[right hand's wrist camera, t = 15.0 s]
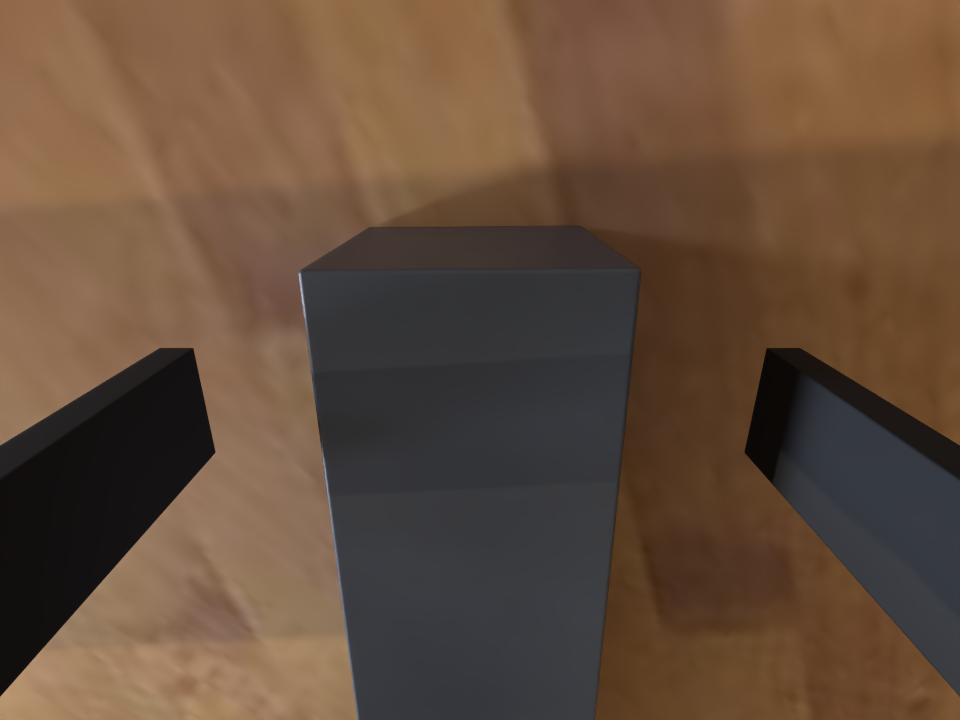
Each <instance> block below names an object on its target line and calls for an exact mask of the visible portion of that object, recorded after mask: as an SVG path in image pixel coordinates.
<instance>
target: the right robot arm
mask: <svg viewBox="0 0 960 720" xmlns="http://www.w3.org/2000/svg"><path fill="white" fill-rule="evenodd" d="M214 454H215V448H214V443H213V439H212V434H211V429H210V425H209V420H208V415H207V411H206V406H205V401H204V396H203V392H202V387H201V382H200V378H199V373H198V368H197V364H196V359H195V354H194V349H193V348H159V349H158V350H156V351H154V352H153V353H151V354H149V355H148V356H146V357H145V358H143V359H141V360H140V361H138V362H136V363H135V364H133V365H131V366H130V367H128V368H127V369H125V370H123V371H122V372H120V373H118V374H117V375H115V376H113V377H112V378H110V379H109V380H107V381H105V382H104V383H102V384H100V385H99V386H97V387H95V388H94V389H92V390H91V391H89V392H87V393H86V394H84V395H82V396H81V397H79V398H77V399H76V400H74V401H73V402H71V403H69V404H68V405H66V406H64V407H63V408H61V409H59V410H58V411H56V412H55V413H53V414H51V415H50V416H48V417H46V418H45V419H43V420H41V421H40V422H38V423H37V424H35V425H33V426H32V427H30V428H28V429H27V430H25V431H23V432H22V433H20V434H19V435H17V436H15V437H14V438H12V439H10V440H9V441H7V442H5V443H4V444H2V445H1V446H0V696H1V695H2V694H3V693H4V692H5V691H6V689H7V688H8V687H9V686H10V685H11V684H12V683H13V681H14V680H15V679H16V678H17V677H18V676H19V675H20V674H21V672H22V671H23V670H24V669H25V668H26V667H27V666H28V664H29V663H30V662H31V661H32V660H33V659H34V658H35V657H36V655H37V654H38V653H39V652H40V651H41V650H42V649H43V647H44V646H45V645H46V644H47V643H48V642H49V641H50V640H51V638H52V637H53V636H54V635H55V634H56V633H57V632H58V630H59V629H60V628H61V627H62V626H63V625H64V624H65V623H66V621H67V620H68V619H69V618H70V617H71V616H72V615H73V613H74V612H75V611H76V610H77V609H78V608H79V607H80V606H81V604H82V603H83V602H84V601H85V600H86V599H87V598H88V596H89V595H90V594H91V593H92V592H93V591H94V590H95V589H96V587H97V586H98V585H99V584H100V583H101V582H102V581H103V579H104V578H105V577H106V576H107V575H108V574H109V573H110V571H111V570H112V569H113V568H114V567H115V566H116V565H117V564H118V562H119V561H120V560H121V559H122V558H123V557H124V556H125V554H126V553H127V552H128V551H129V550H130V549H131V548H132V547H133V545H134V544H135V543H136V542H137V541H138V540H139V539H140V537H141V536H142V535H143V534H144V533H145V532H146V531H147V530H148V528H149V527H150V526H151V525H152V524H153V523H154V522H155V520H156V519H157V518H158V517H159V516H160V515H161V514H162V513H163V511H164V510H165V509H166V508H167V507H168V506H169V505H170V503H171V502H172V501H173V500H174V499H175V498H176V497H177V496H178V494H179V493H180V492H181V491H182V490H183V489H184V488H185V486H186V485H187V484H188V483H189V482H190V481H191V480H192V479H193V477H194V476H195V475H196V474H197V473H198V472H199V471H200V469H201V468H202V467H203V466H204V465H205V464H206V463H207V462H208V460H209V459H210V458H211V457H212V456H213V455H214ZM745 454H746V455H747V456H748V457H749V458H750V459H751V460H752V462H753V463H754V464H755V465H756V466H757V467H758V468H759V469H760V471H761V472H762V473H763V474H764V475H765V476H766V477H767V479H768V480H769V481H770V482H771V483H772V484H773V485H774V486H775V488H776V489H777V490H778V491H779V492H780V493H781V494H782V496H783V497H784V498H785V499H786V500H787V501H788V502H789V503H790V505H791V506H792V507H793V508H794V509H795V510H796V511H797V513H798V514H799V515H800V516H801V517H802V518H803V519H804V520H805V522H806V523H807V524H808V525H809V526H810V527H811V528H812V530H813V531H814V532H815V533H816V534H817V535H818V536H819V537H820V539H821V540H822V541H823V542H824V543H825V544H826V545H827V547H828V548H829V549H830V550H831V551H832V552H833V553H834V554H835V556H836V557H837V558H838V559H839V560H840V561H841V562H842V564H843V565H844V566H845V567H846V568H847V569H848V570H849V571H850V573H851V574H852V575H853V576H854V577H855V578H856V579H857V581H858V582H859V583H860V584H861V585H862V586H863V587H864V589H865V590H866V591H867V592H868V593H869V594H870V595H871V596H872V598H873V599H874V600H875V601H876V602H877V603H878V604H879V606H880V607H881V608H882V609H883V610H884V611H885V612H886V613H887V615H888V616H889V617H890V618H891V619H892V620H893V621H894V623H895V624H896V625H897V626H898V627H899V628H900V629H901V630H902V632H903V633H904V634H905V635H906V636H907V637H908V638H909V640H910V641H911V642H912V643H913V644H914V645H915V646H916V647H917V649H918V650H919V651H920V652H921V653H922V654H923V655H924V657H925V658H926V659H927V660H928V661H929V662H930V663H931V664H932V666H933V667H934V668H935V669H936V670H937V671H938V672H939V674H940V675H941V676H942V677H943V678H944V679H945V680H946V681H947V683H948V684H949V685H950V686H951V687H952V688H953V689H954V691H955V692H956V693H957V694H958V695H959V696H960V446H959V445H958V444H956V443H955V442H953V441H951V440H950V439H948V438H946V437H945V436H943V435H941V434H940V433H938V432H937V431H935V430H933V429H932V428H930V427H928V426H927V425H925V424H923V423H922V422H920V421H919V420H917V419H915V418H914V417H912V416H910V415H909V414H907V413H905V412H904V411H902V410H901V409H899V408H897V407H896V406H894V405H892V404H891V403H889V402H887V401H886V400H884V399H883V398H881V397H879V396H878V395H876V394H874V393H873V392H871V391H869V390H868V389H866V388H865V387H863V386H861V385H860V384H858V383H856V382H855V381H853V380H851V379H850V378H848V377H847V376H845V375H843V374H842V373H840V372H838V371H837V370H835V369H833V368H832V367H830V366H829V365H827V364H825V363H824V362H822V361H820V360H819V359H817V358H815V357H814V356H812V355H811V354H809V353H807V352H806V351H804V350H802V349H801V348H767V349H766V354H765V359H764V364H763V368H762V373H761V378H760V382H759V387H758V392H757V396H756V401H755V406H754V411H753V415H752V420H751V425H750V429H749V434H748V439H747V443H746V448H745Z"/></svg>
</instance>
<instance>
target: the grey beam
mask: <svg viewBox="0 0 960 720" xmlns="http://www.w3.org/2000/svg"><path fill="white" fill-rule="evenodd" d="M298 275H299V283H300V290H301V298H302V305H303V313H304V320H305V328H306V335H307V343H308V351H309V358H310V366H311V373H312V381H313V388H314V396H315V403H316V411H317V418H318V426H319V433H320V441H321V448H322V456H323V463H324V471H325V479H326V486H327V494H328V501H329V509H330V516H331V524H332V531H333V539H334V546H335V554H336V561H337V569H338V576H339V584H340V591H341V599H342V606H343V614H344V622H345V629H346V637H347V644H348V652H349V659H350V667H351V674H352V682H353V689H354V697H355V704H356V712H357V719H358V720H595V714H596V704H597V694H598V685H599V675H600V666H601V656H602V646H603V637H604V627H605V617H606V608H607V598H608V588H609V579H610V569H611V559H612V550H613V540H614V531H615V521H616V511H617V502H618V492H619V482H620V473H621V463H622V453H623V444H624V434H625V424H626V415H627V405H628V396H629V386H630V376H631V367H632V357H633V347H634V338H635V328H636V318H637V309H638V299H639V289H640V280H641V270H640V268H639V267H637V266H636V265H634V264H633V263H632V262H630V261H629V260H627V259H626V258H625V257H623V256H622V255H620V254H619V253H618V252H616V251H615V250H613V249H612V248H611V247H609V246H608V245H606V244H605V243H604V242H602V241H601V240H599V239H598V238H597V237H595V236H594V235H593V234H591V233H590V232H588V231H587V230H586V229H584V228H583V227H581V226H500V227H370V228H368V229H366V230H364V231H363V232H361V233H360V234H358V235H356V236H355V237H353V238H351V239H350V240H348V241H347V242H345V243H343V244H342V245H340V246H339V247H337V248H335V249H334V250H332V251H330V252H329V253H327V254H326V255H324V256H322V257H321V258H319V259H318V260H316V261H314V262H313V263H311V264H309V265H308V266H306V267H305V268H303V269H301V270H300V271H299V274H298Z"/></svg>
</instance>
